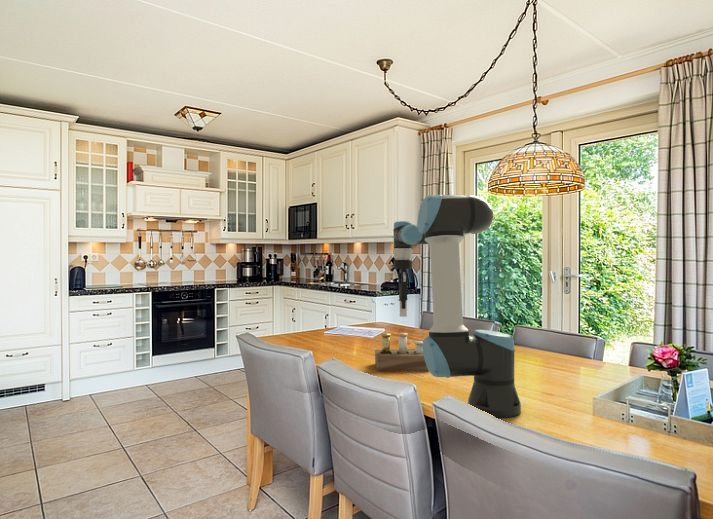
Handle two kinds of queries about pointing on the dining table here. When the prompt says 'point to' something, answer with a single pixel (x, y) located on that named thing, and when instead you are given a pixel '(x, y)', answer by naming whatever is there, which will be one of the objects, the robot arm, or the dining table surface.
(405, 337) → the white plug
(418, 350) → the grey plug
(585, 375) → the dining table surface
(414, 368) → the brown wooden block
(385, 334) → the brass plug
